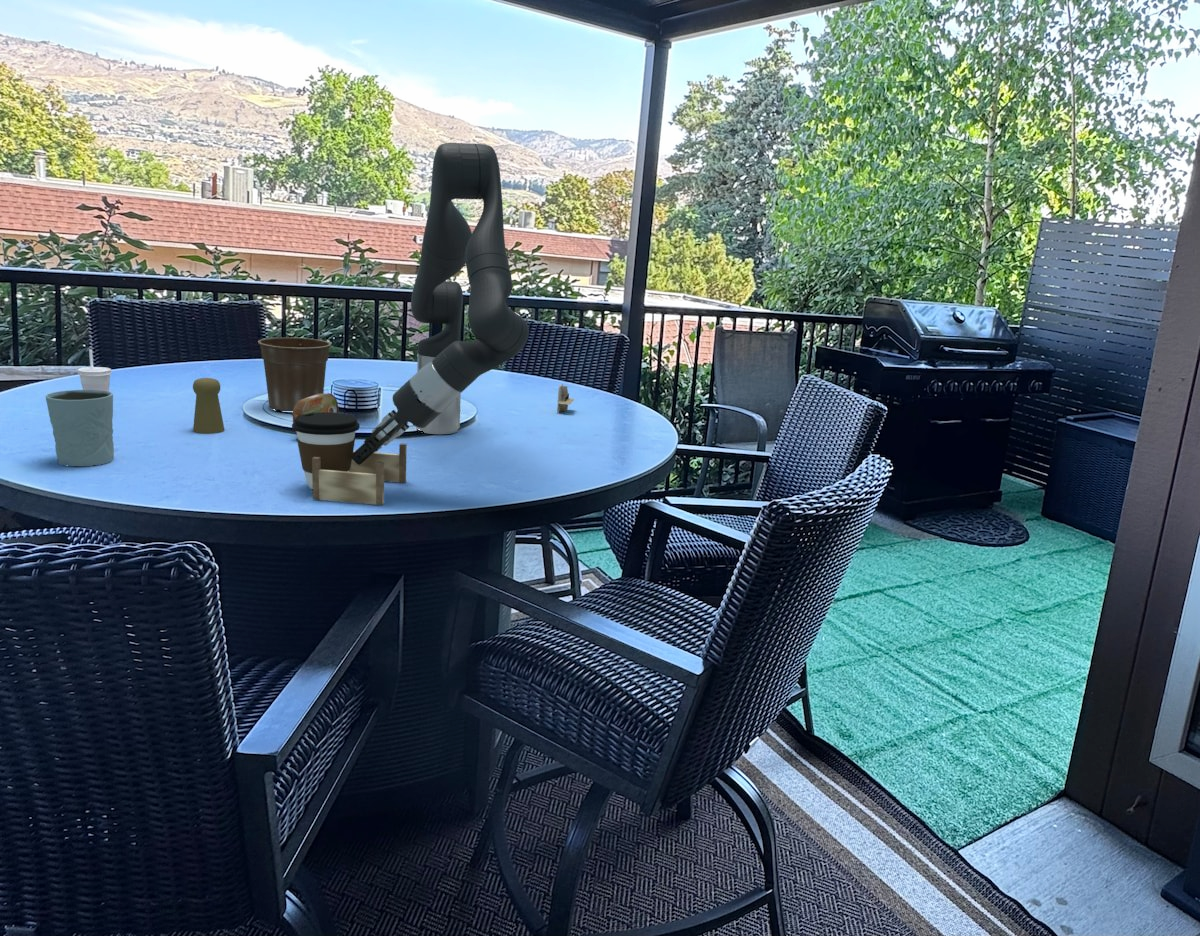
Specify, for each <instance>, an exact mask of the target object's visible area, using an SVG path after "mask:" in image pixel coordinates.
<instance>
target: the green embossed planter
mask: <svg viewBox="0 0 1200 936" xmlns="http://www.w3.org/2000/svg"><path fill="white" fill-rule="evenodd" d="M45 401H46V406H47V411H48V416H49V419H50V421H49V422H50V424H51V426H52V427H51V428H52V434H53V435H52V436H53V438H54V443H55V453H56V459H57V462H59V463H60V464H59V463H58V464H59V465H61V464H62V465H61V466H63V465H68V466H67V467H69V466H91V467H94V466H93V465H98V466H102V465H101V464H103V465H106V464H105V463H107V464H109V463H108V462H110V463H111V461H112V460H113V461H114V458H115V447H114V445H115V444H114V437H113V436H114V428H113V425H114V424H113V418H114V417H113V416H114V394H113V392H111V391H109V392H107V391H100V390H83V389H75V390H74V389H73V390H61V391H55V392H50V393H47V394H46V395H45ZM113 461H112V462H113Z"/></svg>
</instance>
